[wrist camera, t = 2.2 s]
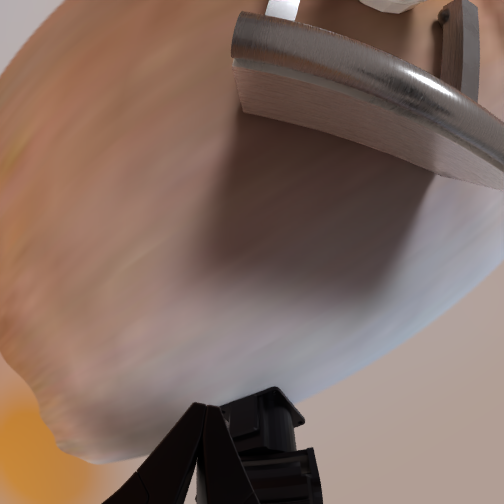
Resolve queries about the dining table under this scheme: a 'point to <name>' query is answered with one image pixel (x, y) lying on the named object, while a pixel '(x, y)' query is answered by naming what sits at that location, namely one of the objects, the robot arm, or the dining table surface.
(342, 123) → the silver boxy shape
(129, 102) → the dining table surface
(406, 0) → the white cup
